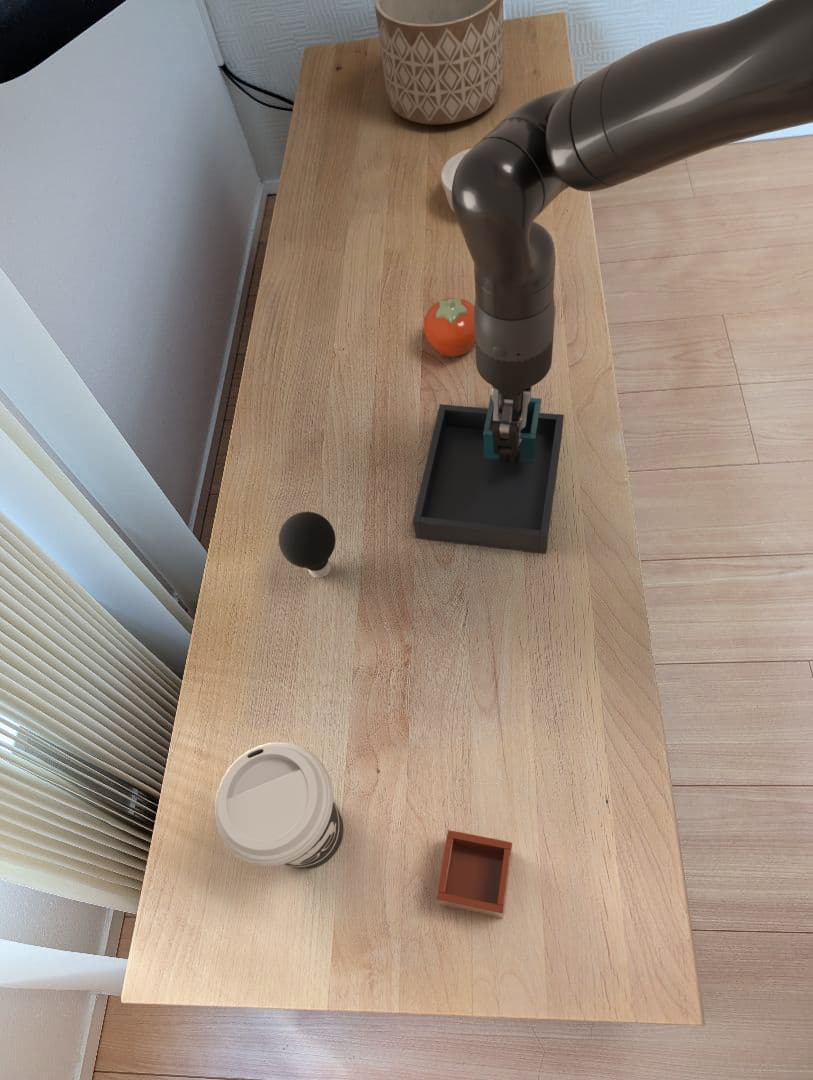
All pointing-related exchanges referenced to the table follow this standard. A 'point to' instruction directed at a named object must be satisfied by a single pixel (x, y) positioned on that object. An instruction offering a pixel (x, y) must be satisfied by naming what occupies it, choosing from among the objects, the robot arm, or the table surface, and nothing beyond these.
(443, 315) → the tomato
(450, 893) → the box brown
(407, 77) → the planter
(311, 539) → the light bulb
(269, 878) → the table surface
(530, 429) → the box teal
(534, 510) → the tray
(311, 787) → the coffee cup
